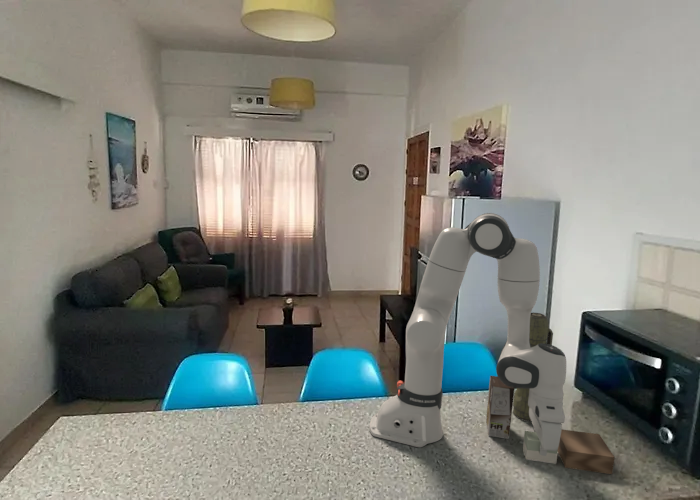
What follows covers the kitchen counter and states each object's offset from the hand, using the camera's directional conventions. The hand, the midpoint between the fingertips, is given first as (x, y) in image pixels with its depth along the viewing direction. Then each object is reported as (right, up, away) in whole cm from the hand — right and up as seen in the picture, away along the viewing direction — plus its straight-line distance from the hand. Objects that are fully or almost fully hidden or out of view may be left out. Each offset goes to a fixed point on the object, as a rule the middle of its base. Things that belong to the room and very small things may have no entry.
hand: (539, 447), depth 133 cm
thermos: (+5, 0, +25) cm, 25 cm away
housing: (0, -3, 0) cm, 3 cm away
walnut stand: (+12, -3, 0) cm, 12 cm away
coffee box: (-8, -1, +14) cm, 16 cm away
